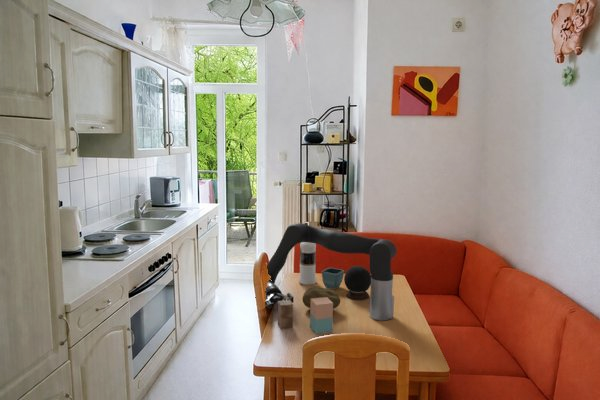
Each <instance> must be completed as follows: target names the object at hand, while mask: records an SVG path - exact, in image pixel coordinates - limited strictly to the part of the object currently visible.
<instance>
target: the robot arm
mask: <svg viewBox="0 0 600 400" xmlns="http://www.w3.org/2000/svg"><path fill="white" fill-rule="evenodd" d="M302 242H310V243H315V244H316V245H318V246H321V247H323V248H325V249H327V250H328V251H332V252H335V253H340V254H352V255H353V254H364V255H369V273H370V274H371V285H370V294H369V298H370V299H369V317H370V318H371V319H373V320H376V321H389V320H391V319H393V318H394V315H395V314H394V307H395V296H394V295H393V287H394V286H393V283H394V281H393V280H394V272H393V271H392V267H391V265H392V261H391V260H393V259H394V258H395V256H396V255H397V246H396V245H395V244H394V242H392V241H391V240H389V239H385V238H384V239H382V238H373V237H371V238H370V237H364V236H363V235H357V234H353V233H349V232H344V231H338V230H333V229H327V228H319V227H315V226H312V225H308V224H306V223H303V222H298V223H294V224H290V225H289V226H287V228H286V229H285V231H284V233H283V236H282V238H281V240H280V243H279V244H278V246H277V248H276V251H275V252H274V254H273V255H272V257H271V258H270V260H269V261H268V262H267V264H266V265H267V269H268V274H269V275H270V276H271V278H270V279H271V280H272V281H271V280H269V281H268V283H267V286H266V291H265V293H266V300H265V305H264V306H265V307H267V308H268V309H272V305H274V304H278V301H284V300H290V301H291V302H292V304H294V296H293V295H292V294H291V293H290V292H287V293H286V294H284V293H282V291H281V290H280V288H279V287H278V285H277V284H275V283H276V280H277V277H278V274H279V273H280V272H281V270H282V269H283V267H284V266H285V265H286V262H287V259H288V257H289V254H290V253H291V250H292V249H294V247H295V246H296V245H297V244H301V243H302ZM268 274H267V275H268ZM269 275H268V276H269Z"/></svg>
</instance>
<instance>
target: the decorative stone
mask: <svg viewBox="0 0 600 400" xmlns="http://www.w3.org/2000/svg"><path fill="white" fill-rule="evenodd" d="M322 297H327V298H328V299H329V300H330V301H332V302H333V310H335V309H336V308H338V307H339V305H340V304H341V297H340V296H339V294H338V293H336V292H335V291H333V290H332V289H329V288H323V287H320V286H316V285H311V286H309V287H308V288H307V289H306V290H305V292H304V293H303V295H302V303H303V304H304V306H305V307H307V308H308V309H310V301H311V299H312V298H322Z"/></svg>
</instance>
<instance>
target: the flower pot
mask: <svg viewBox="0 0 600 400" xmlns="http://www.w3.org/2000/svg"><path fill="white" fill-rule="evenodd" d="M344 276H345V270H343V269H339V268H334V267H328V268H326V269H323V270H322V271H321V279H322V282H323V285H324V287H325V289H329V290H336V289H338V288H339V287H340V286H341V284H342V283H343V281H344Z"/></svg>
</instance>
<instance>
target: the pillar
mask: <svg viewBox="0 0 600 400" xmlns="http://www.w3.org/2000/svg"><path fill="white" fill-rule="evenodd" d="M277 325H278V327H279V328H280V330H287V329H288V330H289V329H293V328H294V303H292V302H291V301H290V300H287V299H286V300H284V301H278V303H277Z"/></svg>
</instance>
